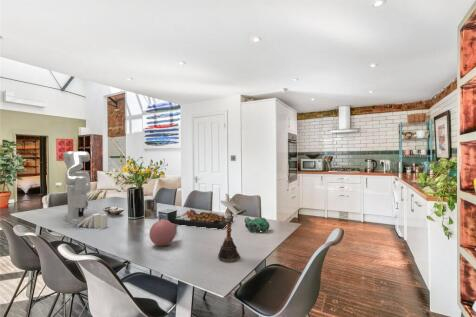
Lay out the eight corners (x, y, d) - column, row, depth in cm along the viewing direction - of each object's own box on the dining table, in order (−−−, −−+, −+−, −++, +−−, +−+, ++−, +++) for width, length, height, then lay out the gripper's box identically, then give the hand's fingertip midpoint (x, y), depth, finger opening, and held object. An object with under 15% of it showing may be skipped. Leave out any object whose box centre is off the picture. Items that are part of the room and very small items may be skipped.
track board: (71, 228, 178) (71, 227, 178) (81, 225, 187) (81, 224, 187) (102, 231, 173) (102, 230, 173) (111, 227, 182) (111, 226, 182)
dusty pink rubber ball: (186, 242, 151) (186, 218, 151) (159, 252, 135) (160, 225, 135) (170, 237, 160) (170, 214, 160) (144, 246, 144) (144, 220, 144)
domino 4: (94, 228, 177) (94, 215, 177) (99, 226, 182) (99, 213, 181) (96, 228, 176) (96, 215, 176) (101, 226, 181) (101, 213, 181)
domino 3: (88, 227, 178) (91, 214, 177) (93, 225, 183) (97, 213, 182) (89, 228, 177) (93, 215, 177) (95, 226, 182) (98, 214, 182)
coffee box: (157, 217, 214) (157, 199, 213) (153, 219, 207) (154, 200, 207) (147, 216, 214) (147, 199, 214) (143, 218, 208) (144, 200, 208)
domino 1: (76, 225, 180) (85, 218, 178) (82, 223, 185) (91, 216, 183) (77, 227, 180) (86, 220, 178) (83, 225, 185) (92, 218, 183)
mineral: (249, 235, 164) (249, 221, 164) (241, 229, 179) (241, 216, 179) (272, 232, 171) (273, 219, 171) (262, 226, 186) (262, 214, 186)
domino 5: (100, 228, 175) (100, 215, 175) (105, 227, 180) (105, 213, 180) (102, 229, 175) (102, 215, 175) (107, 227, 180) (107, 214, 180)
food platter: (170, 225, 191) (170, 212, 191) (185, 217, 215) (186, 206, 215) (222, 230, 178) (222, 216, 178) (232, 222, 201) (232, 210, 201)
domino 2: (82, 226, 179) (89, 216, 177) (87, 224, 184) (94, 214, 182) (83, 227, 179) (90, 217, 177) (89, 225, 183) (96, 216, 182)
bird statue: (252, 257, 129) (253, 192, 129) (241, 266, 118) (241, 196, 118) (227, 250, 137) (227, 190, 137) (213, 259, 126) (214, 193, 126)
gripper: (68, 193, 180) (68, 217, 180) (84, 193, 177) (84, 218, 177) (77, 191, 187) (77, 214, 187) (93, 192, 184) (93, 215, 184)
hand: (80, 216), depth 182 cm, fingers closed
